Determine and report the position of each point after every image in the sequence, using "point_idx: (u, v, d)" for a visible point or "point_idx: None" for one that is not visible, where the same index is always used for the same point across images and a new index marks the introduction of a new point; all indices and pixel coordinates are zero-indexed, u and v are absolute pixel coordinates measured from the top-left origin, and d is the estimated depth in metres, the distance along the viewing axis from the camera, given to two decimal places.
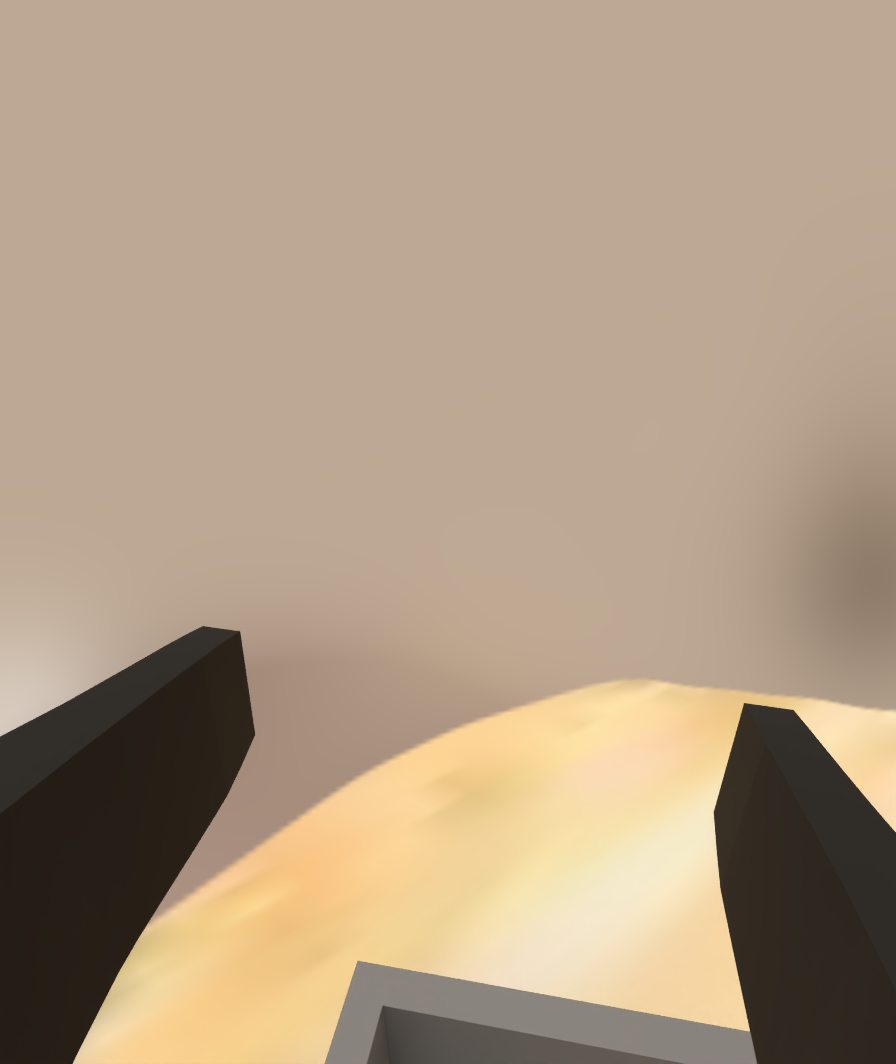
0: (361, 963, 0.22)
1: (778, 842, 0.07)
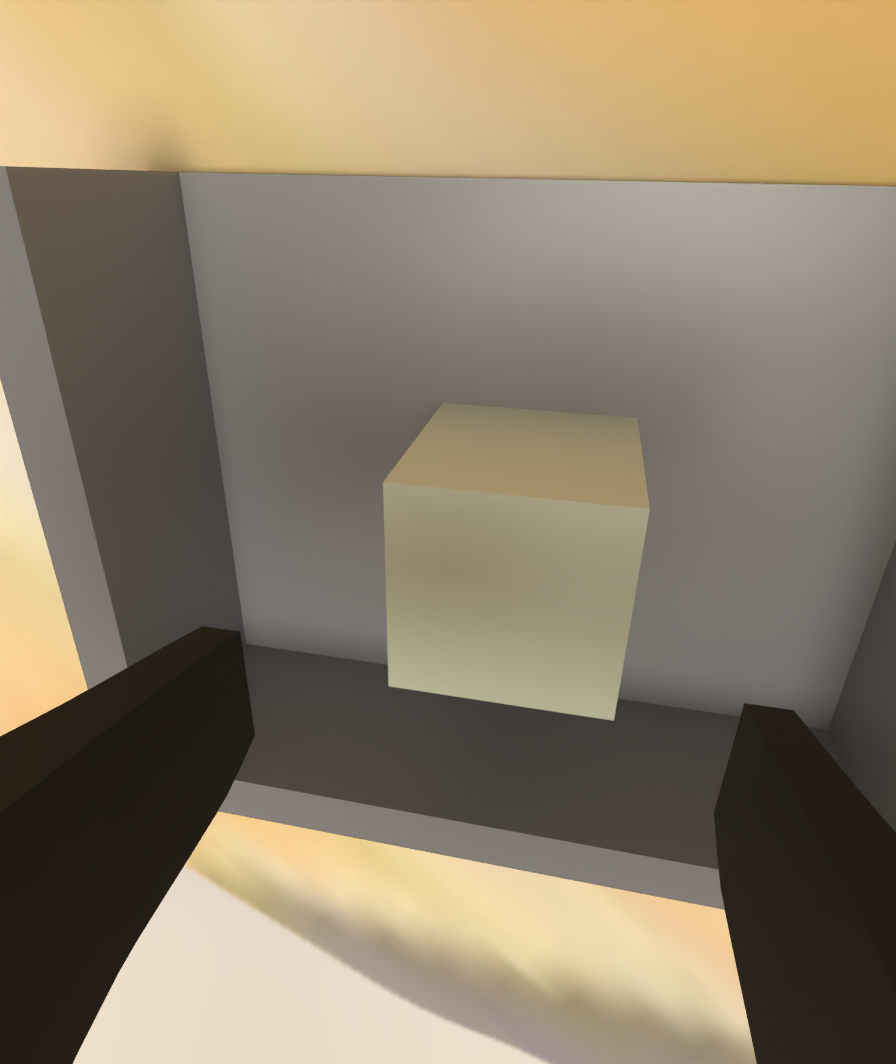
0: None
1: (778, 841, 0.07)
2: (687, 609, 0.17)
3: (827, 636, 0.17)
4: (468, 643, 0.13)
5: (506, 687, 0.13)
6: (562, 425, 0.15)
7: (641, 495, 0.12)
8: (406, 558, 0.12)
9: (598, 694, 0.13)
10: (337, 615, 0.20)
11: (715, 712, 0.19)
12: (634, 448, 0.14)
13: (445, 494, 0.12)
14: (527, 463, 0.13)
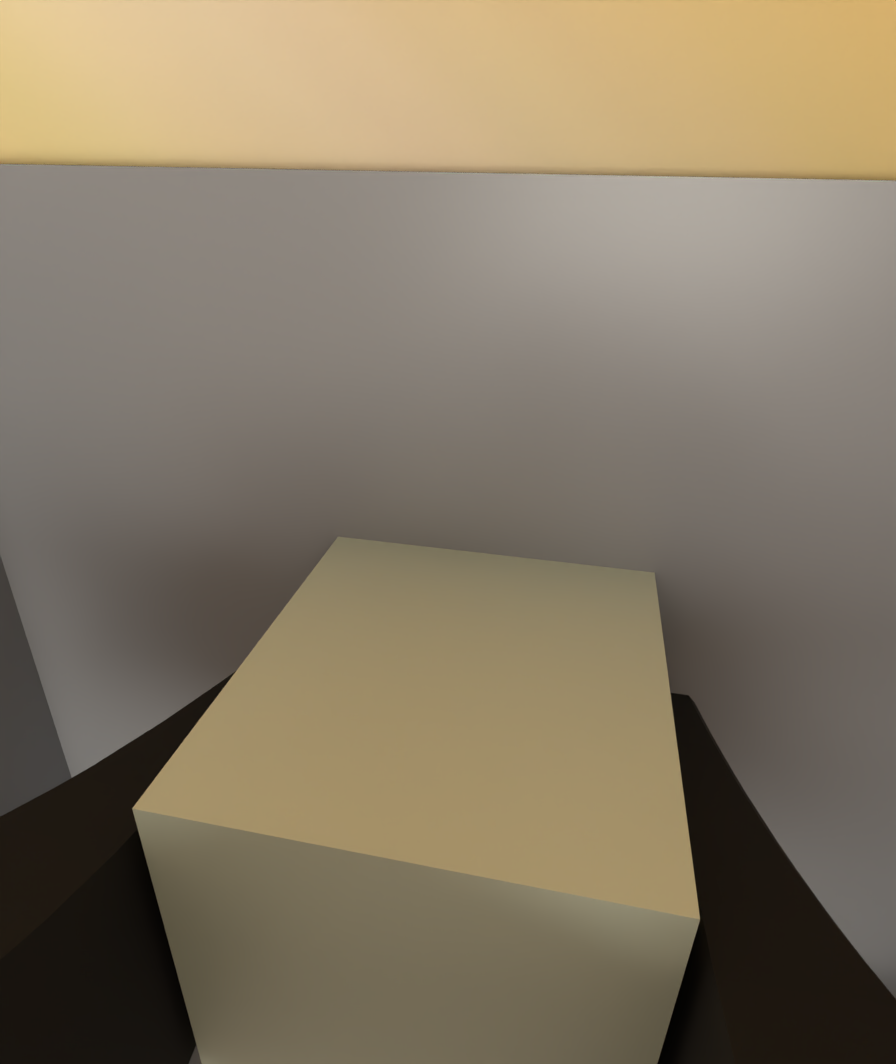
0: None
1: None
2: None
3: None
4: (339, 1059, 0.07)
5: None
6: (527, 597, 0.09)
7: (677, 853, 0.05)
8: (202, 929, 0.06)
9: None
10: None
11: None
12: (653, 667, 0.07)
13: (259, 843, 0.06)
14: (449, 725, 0.07)
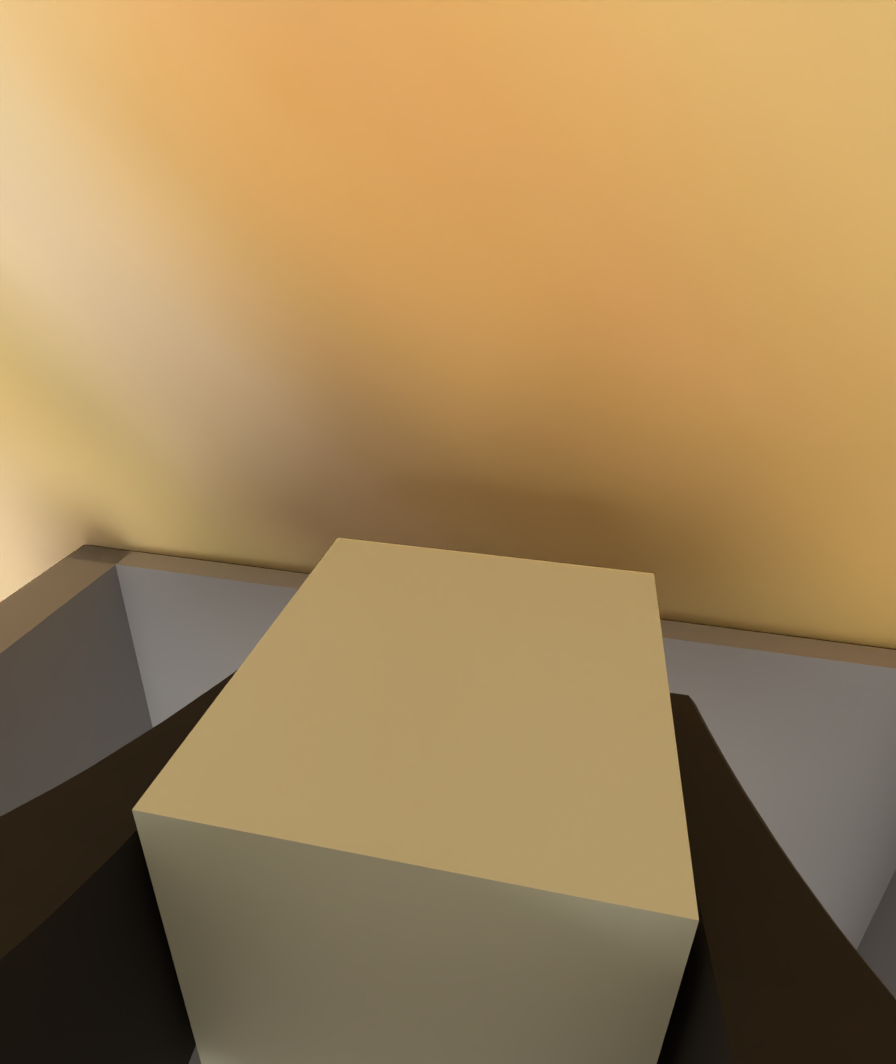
0: None
1: None
2: None
3: None
4: (339, 1061, 0.07)
5: None
6: (526, 598, 0.09)
7: (676, 854, 0.05)
8: (202, 931, 0.06)
9: None
10: None
11: None
12: (653, 668, 0.07)
13: (259, 844, 0.06)
14: (449, 727, 0.07)
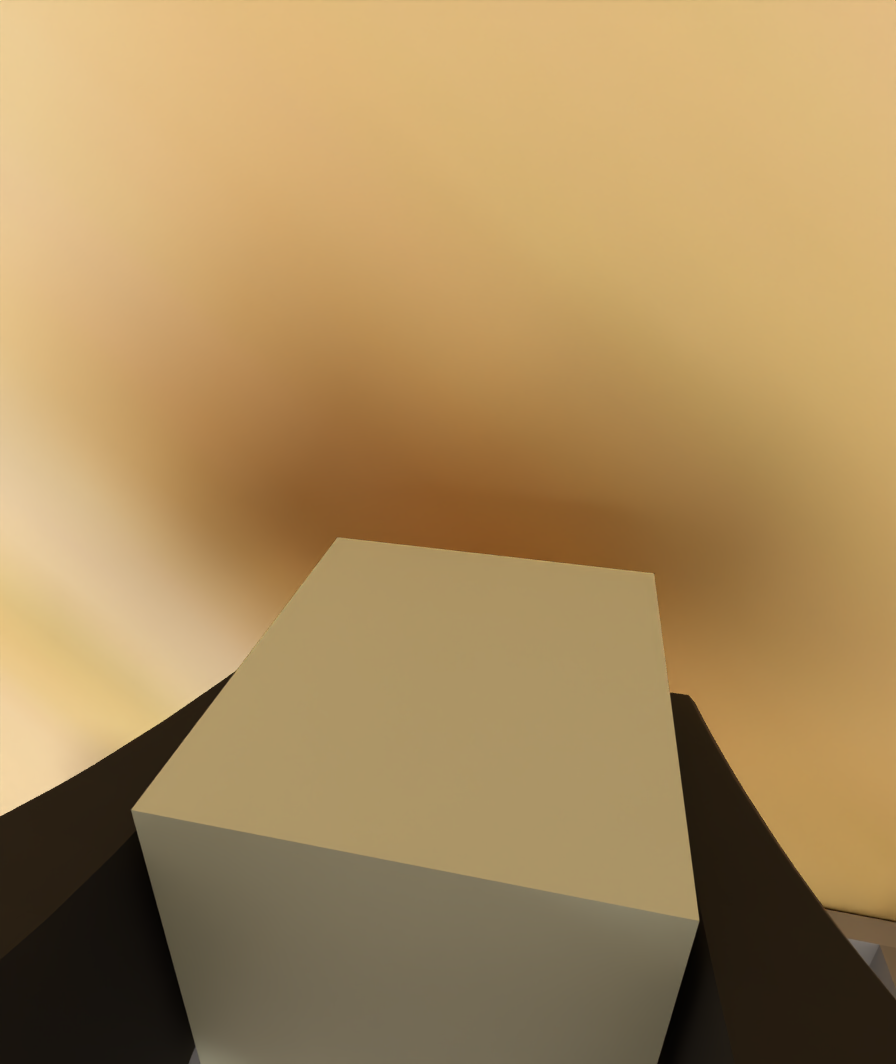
0: None
1: None
2: None
3: None
4: (339, 1061, 0.07)
5: None
6: (526, 598, 0.09)
7: (676, 854, 0.05)
8: (202, 931, 0.06)
9: None
10: None
11: None
12: (653, 668, 0.07)
13: (259, 843, 0.06)
14: (448, 726, 0.07)
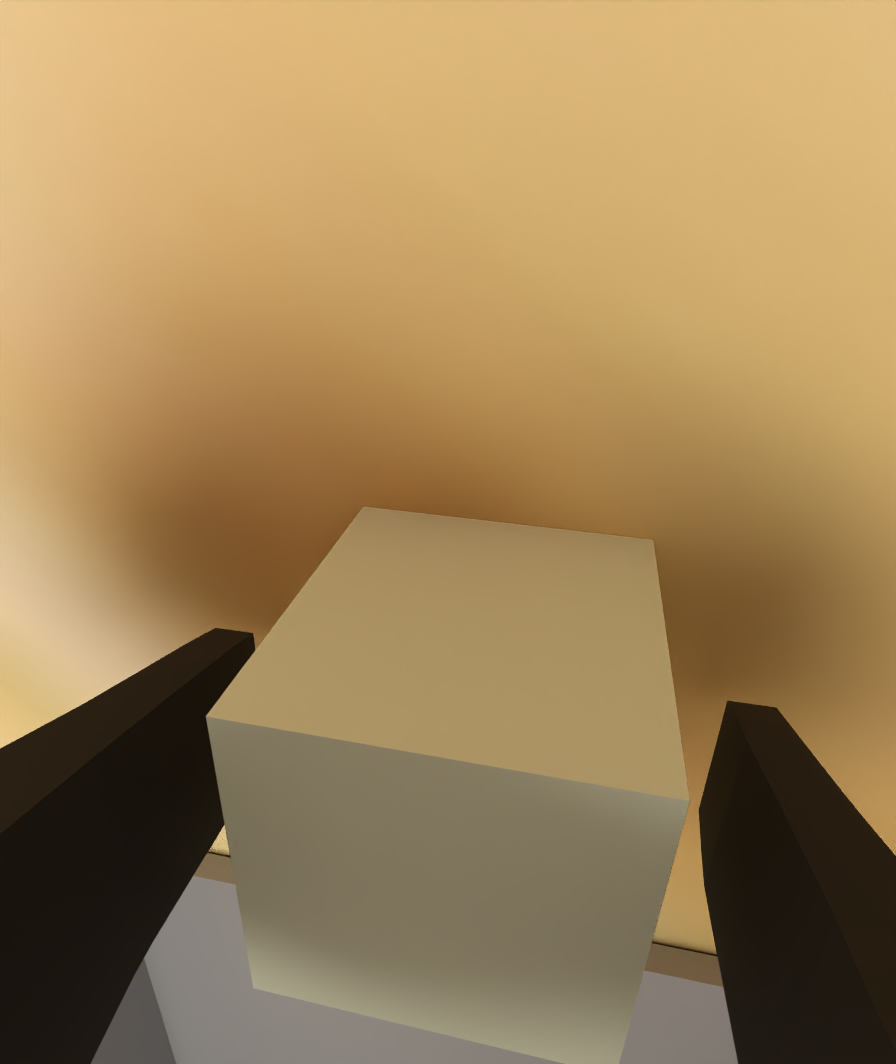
0: None
1: (758, 838, 0.07)
2: None
3: None
4: (374, 951, 0.08)
5: (439, 1013, 0.08)
6: (538, 556, 0.10)
7: (671, 753, 0.06)
8: (260, 829, 0.07)
9: (590, 1041, 0.08)
10: None
11: None
12: (651, 613, 0.08)
13: (316, 745, 0.06)
14: (473, 657, 0.08)
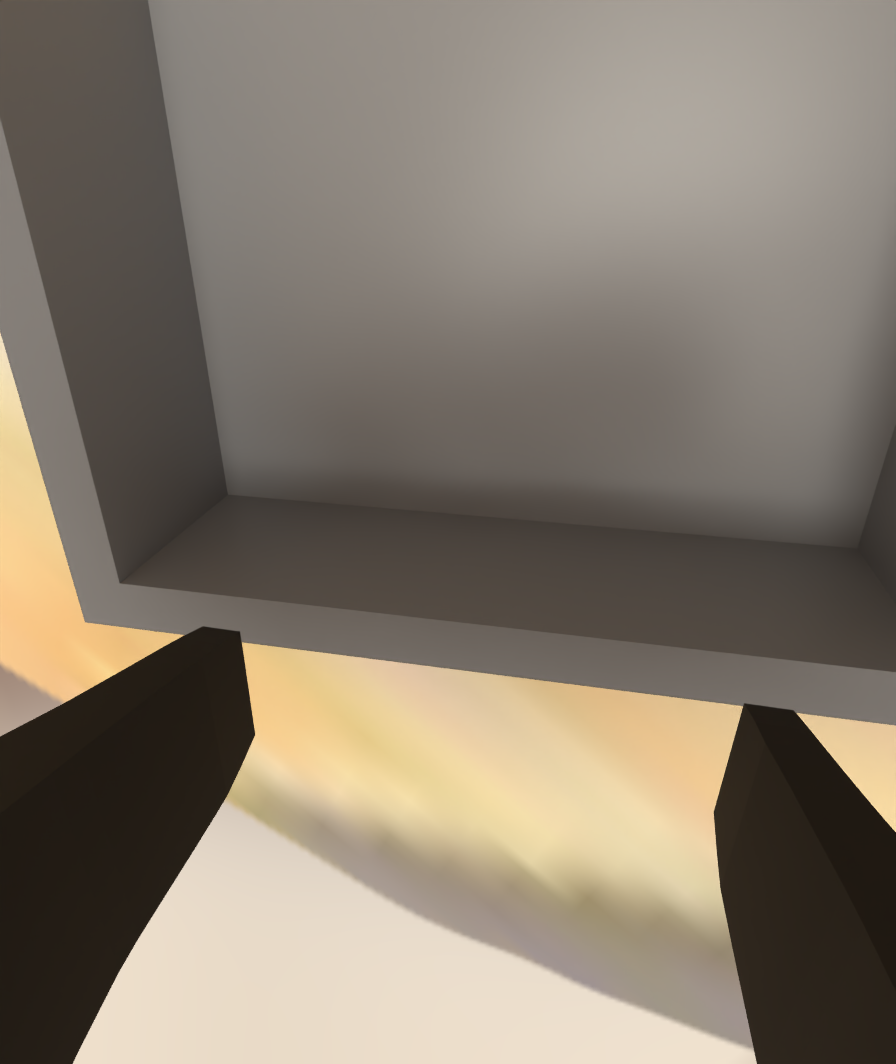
0: (86, 616, 0.16)
1: (777, 842, 0.07)
2: (701, 412, 0.16)
3: (856, 432, 0.15)
4: None
5: None
6: None
7: None
8: None
9: None
10: (323, 451, 0.18)
11: (734, 537, 0.17)
12: None
13: None
14: None
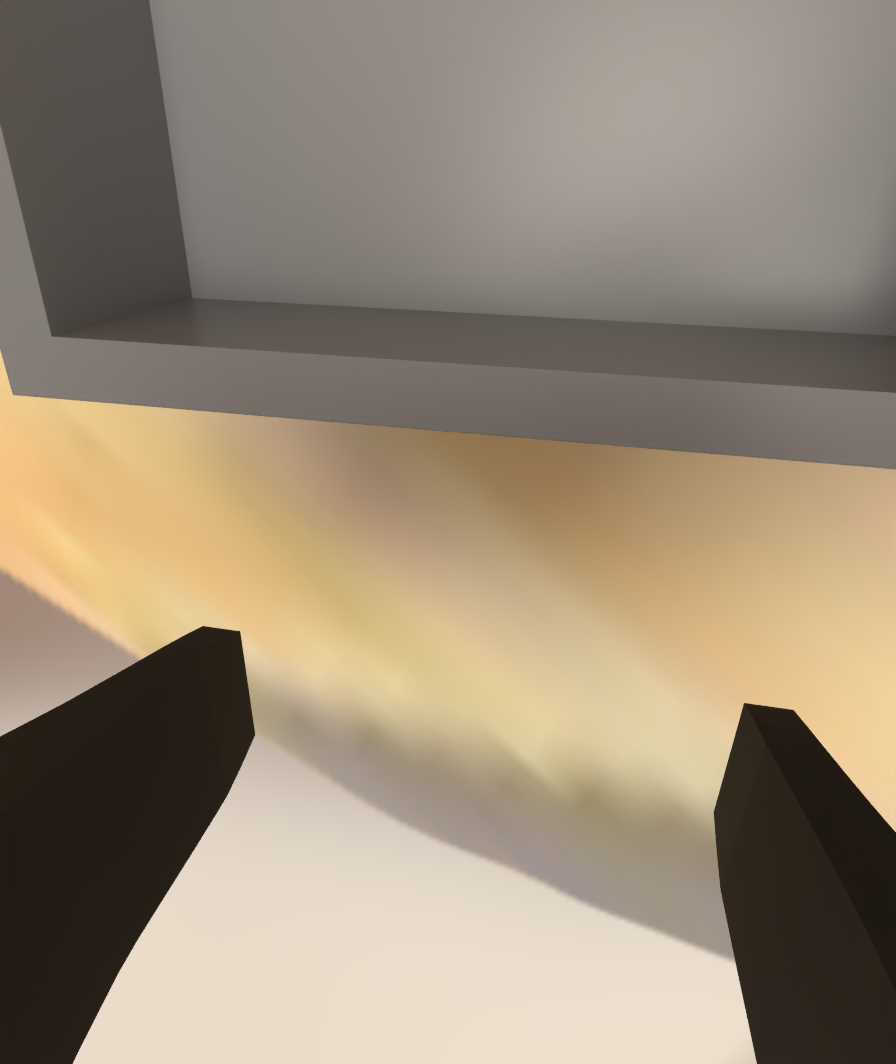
0: (14, 388, 0.14)
1: (777, 841, 0.07)
2: (743, 162, 0.14)
3: None
4: None
5: None
6: None
7: None
8: None
9: None
10: (301, 235, 0.16)
11: (773, 328, 0.15)
12: None
13: None
14: None
